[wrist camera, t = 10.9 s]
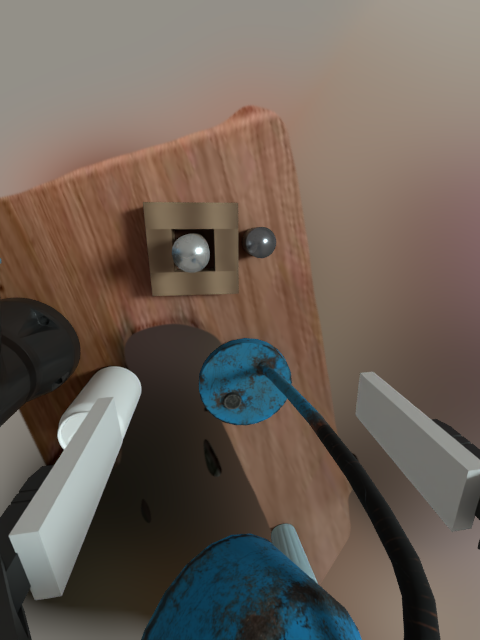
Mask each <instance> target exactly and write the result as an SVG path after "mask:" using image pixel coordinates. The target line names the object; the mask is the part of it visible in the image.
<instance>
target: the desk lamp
mask: <svg viewBox="0 0 480 640" xmlns="http://www.w3.org/2000/svg"><path fill="white" fill-rule="evenodd" d="M291 383H292V381H291V372H290V369H289V367H288V364H287V362H286V360H285V358H284V357H283V355H282V354H281V353H280V352H279V351H278V349H276V348H275V347H273V346H272V345H270V344H269V343H267V342H264V341H261V340H258V339H249V338H243V339H237V340H232V341H230V342H227V343H225V344H223V345H221V346H219V347H218V348H217V349H216V350H214V351H213V352H212V353H211V354H210V355H209V356H208V358H207V359H206V360H205V362H204V363H203V366H202V369H201V371H200V376H199V392H200V396H201V400H202V402H203V404H204V406H205V407H206V409H207V410H208V411H209V412H210V413H211V414H212V415H213V416H214V417H216V418H217V419H219V420H221V421H223V422H225V423H229V424H233V425H250V424H255V423H259V422H261V421H263V420H265V419H268V418H269V417H271V416H272V415H273V414H275V413H276V412H277V411H278V410H279V409H280V408H281V407H282V406H283V404H284V403H285V402H286V399H287V398H288V400H289V401H290V402H291V403H292V404H293V406H294V407H295V408H296V409H297V410H298V411H299V413H300V414H301V415H302V416H303V417H304V418H305V420H306V421H307V422H308V423H309V424H310V426H311V427H312V429H313V430H314V431H315V433H316V434H317V436H318V437H319V439H320V440H321V442H322V443H323V444H324V446H325V447H326V449H327V450H328V452H329V453H330V455H331V456H332V457H333V459H334V460H335V462H336V463H337V465H338V466H339V468H340V469H341V470H342V472H343V473H344V475H345V476H346V478H347V480H348V481H349V483H350V485H351V486H352V488H353V490H354V492H355V493H356V495H357V497H358V499H359V500H360V502H361V504H362V505H363V507H364V509H365V511H366V512H367V514H368V516H369V518H370V519H371V522H372V524H373V525H374V528H375V529H376V532H377V534H378V536H379V538H380V540H381V542H382V544H383V546H384V548H385V550H386V552H387V554H388V556H389V558H390V560H391V562H392V565H393V568H394V572H395V575H396V578H397V582H398V585H399V588H400V592H401V595H402V606H403V621H404V640H440V633H439V626H438V619H437V611H436V603H435V599H434V596H433V593H432V591H431V588H430V585H429V583H428V580H427V577H426V575H425V572H424V570H423V567H422V564H421V561H420V559H419V557H418V555H417V553H416V551H415V550H414V548H413V546H412V545H411V543H410V541H409V539H408V538H407V536H406V534H405V532H404V531H403V529H402V528H401V526H400V524H399V522H398V520H397V519H396V517H395V515H394V514H393V512H392V510H391V508H390V507H389V505H388V504H387V502H386V501H385V499H384V498H383V497H382V495H381V494H380V492H379V491H378V489H377V488H376V486H375V485H374V483H373V482H372V480H371V479H370V477H369V476H368V474H367V473H366V471H365V470H364V468H363V467H362V466H361V464H360V463H359V462H358V461H357V459H356V458H355V457H354V456H353V454H352V453H351V452H350V451H349V449H348V448H347V447H346V446H345V444H344V443H343V442H342V441H341V439H340V438H339V437H338V436H337V434H336V433H335V432H334V431H333V429H332V428H331V427H330V426H329V424H328V423H327V422H326V421H325V419H324V418H323V417H322V416H321V414H320V413H319V412H318V411H317V410H316V409H315V408H314V407H313V406H312V405H311V404H310V403H309V402H308V401H307V400H306V399H305V398H304V397H303V396H302V395H301V394H300V393H299V392H298V391H297V390H296V389H295V388H294V387H293V386H292V385H291ZM141 640H362V639H361V637H360V634H359V631H358V628H357V627H356V625H355V623H354V622H353V620H352V618H351V617H350V615H349V613H348V612H347V610H346V609H345V608H344V607H343V606H342V605H341V604H340V603H339V602H337V601H336V600H335V599H334V598H333V597H332V596H331V595H330V594H328V593H327V592H326V591H325V590H324V589H323V588H322V587H320V586H319V585H318V584H317V583H316V582H315V581H314V580H313V579H312V578H310V577H309V576H308V575H307V574H306V573H305V572H304V571H302V570H301V569H300V568H299V567H298V566H297V565H296V564H295V563H293V562H292V561H291V560H290V559H289V558H288V557H287V556H286V555H284V554H283V553H282V552H281V551H280V550H279V549H278V548H276V547H275V546H274V545H273V544H272V543H271V542H270V541H268V540H267V539H264V538H262V537H259V536H256V535H253V534H239V535H230V536H228V537H226V538H224V539H221V540H219V541H217V542H215V543H213V544H211V545H209V546H208V547H207V548H206V549H204V550H203V551H202V552H201V553H200V554H198V555H197V556H196V557H195V558H194V559H192V560H191V561H190V562H189V563H188V564H187V565H186V566H185V568H184V569H183V570H182V572H180V574H179V575H178V576H177V578H176V579H175V580H174V581H173V583H172V584H171V585H170V587H169V588H168V589H167V590H166V592H165V593H164V595H163V597H162V599H161V601H160V603H159V604H158V606H157V608H156V610H155V612H154V614H153V616H152V617H151V619H150V621H149V623H148V625H147V627H146V628H145V631H144V634H143V636H142V639H141Z"/></svg>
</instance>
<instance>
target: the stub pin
mask: <svg viewBox="0 0 480 640" xmlns="http://www.w3.org/2000/svg"><path fill="white" fill-rule="evenodd" d="M242 246H243V248H244V250H245V251H246V252H247V253H248V254H250V255H252V256H254V257H257V258H265V257H267V256H269V255H270V254H272V252H273V251H274V249H275V246H276V238H275V235H274V233H273V232H272V231H271V230H270V229H268V228H265V227H257V228H251V229H249V230H247V231H246V232H245V233H244V235H243V238H242Z"/></svg>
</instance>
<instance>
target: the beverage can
mask: <svg viewBox="0 0 480 640" xmlns="http://www.w3.org/2000/svg"><path fill="white" fill-rule="evenodd" d="M140 395H141V384H140V381H139V379H138V378H137V377H136V375H135V374H133V373H132V372H131V371H129V370H128V369H125V368H122V367H116V366H112V367H106V368H103V369H101V370H99V371H98V372H96V373H95V374H94V376H93V377H92V378H91V379H90V381H89V382H88V383H87V384H86V386H85V387H84V388H83V390H82V391H81V392H80V393H79V395H78V396H77V397H76V399H75V400H74V401H73V402H72V404H71V405H70V406H69V407H68V409H67V410H66V411H65V413H64V414H63V415H62V417H61V419H60V422H59V429H58V441H59V443H60V445H61V447H62V448H63V449H64V450H65V448H66V446H67V445H68V443H69V442H70V440H71V439H72V437H73V436H74V434H75V433H76V431H77V430H78V428H79V426H80V425H81V423H82V422H83V420H84V419H85V417H86V416H87V414H88V413H89V411H90V410H91V408H92V406H93V405H94V403H95V402H96V400H97V399H98V398H106V397H114V401H115V406H116V411H117V415H118V420H119V425H120V430H121V435H122V440H123V438H124V435H125V433H126V430H127V428H128V425H129V423H130V420H131V418H132V415H133V413H134V410H135V407H136V405H137V403H138V400H139V398H140Z"/></svg>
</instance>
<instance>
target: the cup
mask: <svg viewBox="0 0 480 640" xmlns="http://www.w3.org/2000/svg"><path fill="white" fill-rule="evenodd" d="M271 540H272V544H273V545H274V546H275V547H276V548H278V549H279V550H280V551H281V552H282V553H283V554H284V555H286V556H287V557H288V558H289V559H290V560H291V561H292V562H293V563H295V564H296V565H297V566H298V567H299V568H300V569H301V570H302V571H304V572H305V573H306V574H307V575H308V576H309V577H310V578H312V579H313V580H314V581H315V582H316V583H317V580H316V578H315V576H314V573H313V571H312V569H311V566H310V564H309V562H308V559H307V557H306V554H305V552H304V550H303V547H302V545H301V542H300V540H299V538H298V535H297V533H296V531H295V528H294V527H293V526H292V525H290V524H281V525H278V526H276V527H275V528H274V529H273V530H272V532H271ZM317 584H318V583H317Z"/></svg>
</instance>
